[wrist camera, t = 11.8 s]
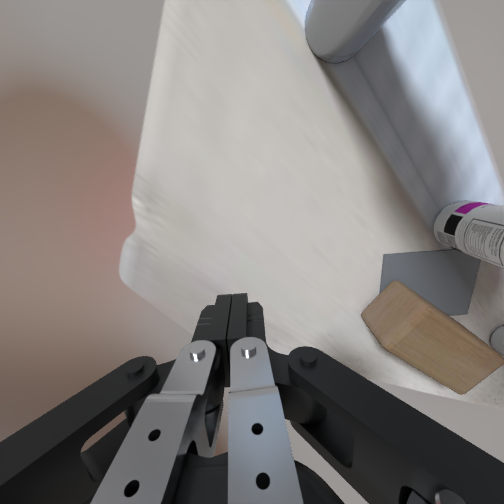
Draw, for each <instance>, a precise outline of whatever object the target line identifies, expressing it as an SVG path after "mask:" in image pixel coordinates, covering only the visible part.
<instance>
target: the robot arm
mask: <svg viewBox="0 0 504 504" xmlns="http://www.w3.org/2000/svg"><path fill="white" fill-rule="evenodd" d="M405 1H406V0H311V2H310V5H309V8H308V10H307V14H306V19H305V33H306V39H307V41H308V44H309V46H310V48H311V49H312V51H313V52H314V53H315V54H316V55H317V57H319V58H320V59H322V60H324V61H327V62H330V63H338V62H343V61H345V60H347V59H350V58H351V57H352V56H354V55H355V54H356V53H357V52H358V51H359V50H360V49H361V48H362V47H363V46H364V45H365V44H366V42H367V41H368V40H369V39H370V38H371V37H372V36H373V35H374V34H375V33H376V32H377V31H378V30H379V29H380V28H381V27H382V26H383V24H384V23H385V22H386V21H387V20H388V19H389V18H390V17H391V16H392V15H393V14H394V13H395V12H396V11H397V9H398V8H399V7H400V6H401V5H402V4H403V3H404V2H405ZM224 387H230V392H229V397H228V401H229V402H228V407H229V408H228V452H226V453H223V454H221V455H218V456H215V457H214V453H215V448H216V442H217V437H218V432H219V427H220V421H221V416H222V411H223V396H224ZM123 411H124V413H125V416H126V419H125V420H123V421H122V422H121V423H120V424H118V425H117V426H116V427H115V428H113V429H112V430H111V431H110V432H108V433H107V434H106V435H105V436H103V437H102V438H101V439H100V440H99V441H97V442H96V443H95V444H94V445H92V446H91V447H90V448H89V449H87V450H86V451H84V452H81V448H82V446H83V445H84V443H85V442H86V441H87V440H88V439H89V438H90V437H91V436H92V435H94V434H95V433H96V432H97V431H99V430H100V429H101V428H103V427H104V426H105V425H106V424H108V423H109V422H110V421H112V420H113V419H114V418H115V417H116V416H118V415H119V414H120V413H122V412H123ZM285 419H287V420H290V422H291V425H292V427H293V428H294V429H295V430H296V431H297V432H298V433H299V434H300V435H301V436H302V437H303V438H304V439H305V440H306V441H307V442H308V443H309V444H310V445H311V446H312V447H313V448H314V449H315V450H316V451H317V452H318V453H319V454H320V455H321V456H322V457H323V458H324V459H325V460H326V461H327V462H328V463H329V464H330V465H331V466H332V467H333V468H334V469H335V470H336V471H337V472H338V473H339V474H340V475H341V476H342V477H343V478H344V479H345V480H346V481H347V482H348V483H349V484H350V485H351V486H352V487H353V488H354V489H355V490H356V491H357V492H358V493H359V494H360V495H361V496H362V497H363V498H364V499H365V500H366V501H367V502H368V503H369V504H504V463H503V462H501V461H499V460H498V459H496V458H494V457H493V456H491V455H489V454H488V453H486V452H485V451H483V450H481V449H480V448H478V447H477V446H475V445H473V444H472V443H470V442H469V441H466V440H465V439H463V438H462V437H460V436H459V435H457V434H455V433H454V432H452V431H450V430H449V429H447V428H446V427H444V426H442V425H441V424H439V423H438V422H436V421H434V420H433V419H431V418H429V417H428V416H426V415H425V414H423V413H421V412H419V411H418V410H416V409H415V408H413V407H411V406H410V405H408V404H407V403H405V402H403V401H402V400H400V399H398V398H397V397H395V396H394V395H392V394H390V393H389V392H387V391H385V390H384V389H382V388H380V387H379V386H377V385H376V384H374V383H372V382H371V381H369V380H367V379H366V378H364V377H363V376H361V375H359V374H358V373H356V372H354V371H353V370H351V369H350V368H348V367H346V366H345V365H343V364H341V363H340V362H338V361H336V360H335V359H333V358H332V357H330V356H328V355H327V354H325V353H323V352H322V351H320V350H318V349H316V348H313V347H306V346H304V347H298V348H296V349H294V350H292V351H291V352H290V354H289V355H284V354H280V353H277V352H275V351H273V350H271V349H270V348H269V347H268V345H267V343H266V337H265V327H264V316H263V307H262V306H261V305H260V304H259V303H258V302H252V303H248V296H247V293H241V294H233V296H232V294H227V295H218V296H217V299H216V303H215V305H207V306H206V307H205V308H204V309H203V310H202V311H201V314H200V317H199V320H198V323H197V326H196V329H195V332H194V335H193V338H192V341H191V343H189V344H187V345H186V346H185V347H184V348H182V350H181V351H180V353H179V355H178V357H177V359H175V360H173V361H170V362H167V363H163V364H160V365H156V361H155V360H154V359H153V358H152V357H148V356H142V357H137V358H134V359H131V360H129V361H128V362H126V363H124V364H123V365H121V366H120V367H118V368H117V369H115V370H113V371H112V372H110V373H109V374H107V375H106V376H104V377H102V378H101V379H99V380H97V381H96V382H95V383H93V384H91V385H90V386H88V387H87V388H85V389H84V390H82V391H80V392H79V393H77V394H76V395H74V396H72V397H71V398H69V399H68V400H66V401H65V402H63V403H61V404H60V405H58V406H57V407H55V408H54V409H52V410H50V411H49V412H47V413H46V414H44V415H42V416H41V417H39V418H38V419H36V420H34V421H33V422H31V423H30V424H28V425H27V426H25V427H23V428H22V429H20V430H19V431H17V432H16V433H14V434H13V435H11V436H9V437H8V438H6V439H5V440H3V441H1V442H0V504H344V502H343V501H342V500H341V499H340V498H339V497H338V496H337V495H336V493H335V492H334V491H333V490H332V489H331V488H330V486H328V484H327V483H326V482H325V481H324V480H323V479H322V478H321V477H320V476H319V475H318V474H316V473H315V472H314V471H313V470H311V469H310V468H308V467H307V466H305V465H303V464H302V463H299V462H298V461H295V460H294V458H293V454H292V450H291V445H290V441H289V436H288V431H287V427H286V422H285ZM80 452H81V453H80Z"/></svg>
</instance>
